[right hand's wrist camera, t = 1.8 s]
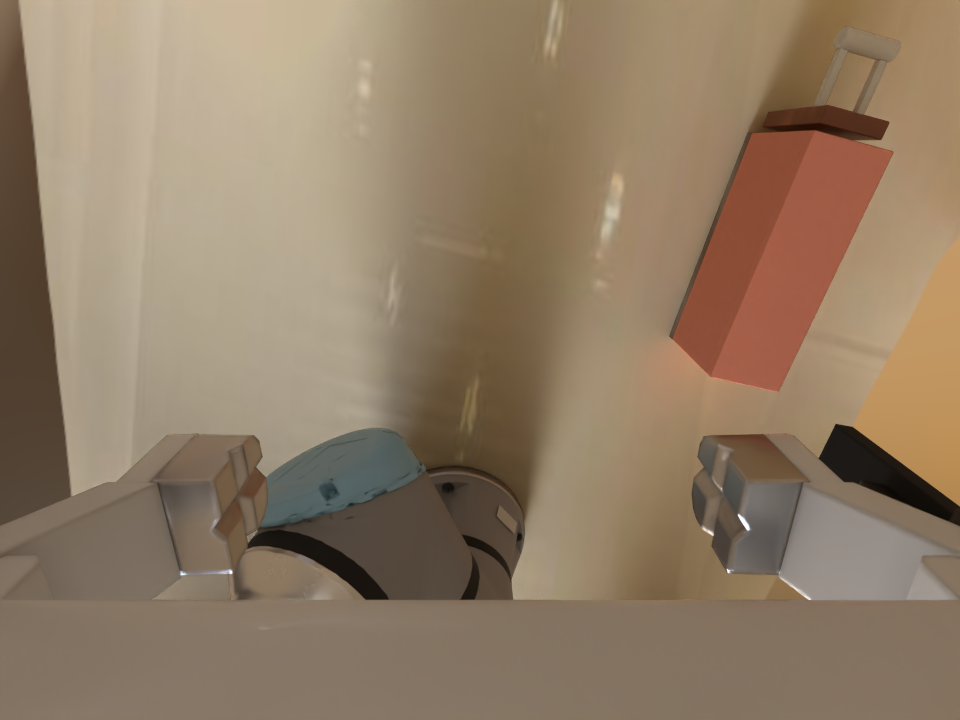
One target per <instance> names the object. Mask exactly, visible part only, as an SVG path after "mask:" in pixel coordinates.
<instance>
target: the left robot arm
mask: <svg viewBox="0 0 960 720" xmlns="http://www.w3.org/2000/svg"><path fill="white" fill-rule="evenodd" d="M819 459H820V460H821V461H822V462H823V463H824V464H825V465H826V466H827V467H828V468H829V469H830V470H831V471H832V472H834V473H835V474H836V475H837V476H838V477H839V478H840V479H841V480H842V481H843V482H854V483H856V484H858V485H861V486H863V487H866V488H868V489H871V490H873V491H875V492H878V493H880V494H883V495H885V496H888V497H890V498H892V499H895V500H897V501H900V502H902V503H905V504H907V505H909V506H912V507H914V508H917V509H919V510H922V511H924V512H926V513H929V514H931V515H934V516H936V517H939V518H941V519H943V520H946V521H948V522H951V523H953V524H956V525H958V526H960V507H959V506H958V505H957V504H956V503H954V502H953V501H952V500H950V499H949V498H947V497H946V496H945V495H943V494H942V493H941V492H939V491H938V490H937V489H935V488H934V487H933V486H931V485H930V484H929V483H927V482H926V481H925V480H923V479H922V478H921V477H919V476H918V475H917V474H915V473H914V472H913V471H911V470H910V469H908V468H907V467H906V466H904V465H903V464H902V463H900V462H899V461H898V460H896V459H895V458H894V457H892V456H891V455H890V454H888V453H887V452H885V451H884V450H883V449H882V448H880V447H879V446H878V445H876V444H875V443H873V442H872V441H871V440H869V439H868V438H867V437H865V436H864V435H863V434H861V433H860V432H859V431H857V430H856V429H855V428H853V427H850V426H844V425H839V424H836V425H835V427H834V429H833V431H832V433H831V435H830V437H829V439H828V441H827V443H826V445H825V447H824V449H823V451H822V453H821V455H820V457H819ZM266 480H267V486H268V504H267V508H266V513H265V517H264V519H263V521H262V523H261V525H260V527H259V528H258V531H257V533H256V535H255V536H254V537H253V538H252V539H251V541H250V542H249V543H248V548H247V549H246V551H245V553H244V555H243V556H242V558H241V560H240V561H239V563H238V565H237V567H236V568H235V570H234V572H233V573H232V574H228V580H229V590H230V600H513V594H512V583H511V579H512V576H513V574H514V571H515V568H516V566H517V563H518V560H519V558H520V555H521V552H522V549H523V544H524V536H525V527H524V519H523V513H522V509H521V507H520V504H519V502H518V500H517V499H516V497H515V495H514V494H513V493H512V492H511V490H510V489H509V488H508V487H507V486H506V485H505V484H503V483H502V482H501V481H499V480H498V479H496V478H495V477H493V476H491V475H489V474H487V473H485V472H482V471H479V470H476V469H472V468H467V467H456V466H453V467H441V468H436V469H432V470H428V471H426V468H425V466H424V464H423V463H421V462H419V461H418V459H417V458H416V456H415V455H414V453H413V452H412V450H411V449H410V447H409V446H408V444H407V443H406V441H405V440H404V439H403V438H402V437H401V436H400V435H399V434H398V433H396V432H394V431H392V430H389V429H384V428H369V429H363V430H358V431H354V432H350V433H347V434H344V435H341V436H339V437H336V438H333V439H331V440H328V441H326V442H324V443H322V444H319V445H317V446H315V447H313V448H311V449H309V450H307V451H305V452H303V453H302V454H300V455H298V456H296V457H295V458H293V459H291V460H290V461H288V462H287V463H285V464H284V465H282V466H281V467H279V468H278V469H276V470H275V471H274V472H272V473H271V474H270V475H268V476H267V477H266Z"/></svg>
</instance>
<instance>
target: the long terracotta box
mask: <svg viewBox="0 0 960 720" xmlns="http://www.w3.org/2000/svg"><path fill="white" fill-rule="evenodd" d="M892 154H893V151H890V150H886V149H882V148H879V147H875V146H871V145H868V144H864V143H860V142H857V141H853V140H849V139H846V138H842V137H838V136H835V135H831V134H827V133H824V132H820V131H816V130H812V131H788V132H766V133H747V136H746V138H745V141H744V144H743V146H742V149H741V151H740V154H739V157H738V159H737V162H736V164H735V167H734V170H733V172H732V175H731V177H730V180H729V183H728V185H727V188H726V190H725V193H724V196H723V198H722V201H721V203H720V206H719V209H718V211H717V214H716V216H715V219H714V222H713V224H712V227H711V229H710V232H709V235H708V237H707V240H706V242H705V245H704V248H703V250H702V253H701V255H700V258H699V261H698V263H697V266H696V268H695V271H694V274H693V276H692V279H691V281H690V284H689V287H688V289H687V292H686V294H685V297H684V300H683V302H682V305H681V307H680V310H679V313H678V315H677V318H676V320H675V323H674V326H673V328H672V331H671V333H670V336H669V337H670V338H671V339H673V340H674V341H675V342H676V343H677V344H678V345H679V346H680V347H681V348H682V349H683V350H684V351H685V352H686V353H687V354H688V355H689V356H690V357H691V358H692V359H693V360H694V361H695V362H696V363H697V364H698V365H699V366H700V367H701V368H702V369H703V370H704V371H705V372H706V373H707V374H708V375H709V376H710V377H713V378H717V379H722V380H726V381H731V382H735V383H739V384H744V385H748V386H753V387H757V388H761V389H766V390H770V391H775V392H779V390H780V388H781V386H782V383H783V381H784V379H785V377H786V375H787V373H788V371H789V369H790V367H791V365H792V363H793V361H794V359H795V356H796V354H797V352H798V350H799V348H800V346H801V344H802V342H803V340H804V338H805V336H806V334H807V331H808V329H809V327H810V325H811V323H812V321H813V319H814V317H815V315H816V313H817V311H818V309H819V306H820V304H821V302H822V300H823V298H824V296H825V294H826V292H827V290H828V288H829V286H830V284H831V281H832V279H833V277H834V275H835V273H836V271H837V269H838V267H839V265H840V263H841V261H842V259H843V257H844V254H845V252H846V250H847V248H848V246H849V244H850V242H851V240H852V238H853V236H854V234H855V232H856V229H857V227H858V225H859V223H860V221H861V219H862V217H863V215H864V213H865V211H866V209H867V207H868V204H869V202H870V200H871V198H872V196H873V194H874V192H875V190H876V188H877V186H878V184H879V182H880V179H881V177H882V175H883V173H884V171H885V169H886V167H887V165H888V163H889V161H890V159H891V157H892Z"/></svg>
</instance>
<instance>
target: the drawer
mask: <svg viewBox="0 0 960 720" xmlns="http://www.w3.org/2000/svg"><path fill="white" fill-rule="evenodd" d="M834 48H836V49H837V50H836V51H835V54H834V56H833V59H832V61H831V63H830V66H829V68H828V71H827V73H826V75H825V78H824V80H823V83H822V85H821V87H820V90H819V92H818V95H817V97H816V99H815V102H814V104H813V106H812V107H806V108H798V109H789V110H780V111H772V112H769V113H768V115H767V117H766V120H765V123H764V125H763V127H765V128H768V129H772V130H776V131H779V132H788V131H812V130H816V131H820V132H824V133H827V134H831V135H835V136H838V137H842V138H846V139H849V140H881V139H882V138H883V135H884V133H885V131H886V129H887V127H888V125H889V122H888V121H885V120H881V119H877V118H874V117H870V116H866V115H864V114H865V112H866V109H867V107H868V105H869V103H870V100H871V98H872V96H873V94H874V92H875V89H876V87H877V85H878V83H879V81H880V78H881V76H882V74H883V72H884V69H885V67H886V65H887V63H888V62H890V61H892V60H893V59H894V58H895V57H896V56H897V54H898V52H899V50H900V48H901V43H900V41H897V40H894V39H890V38H887V37H883V36H880V35H876V34H873V33H870V32H866V31H863V30H859V29H856V28H852V27H849V26H845V27H843V28H842V29H841V30H840V31H839V32H838V34H837V36H836V38H835V40H834ZM848 52H850V53H854V54H857V55H861V56H864V57H868V58H871V59H875V60H877V61H875V63H874V65H873V67H872V69H871V72H870V74H869V76H868V78H867V81H866V83H865V85H864V87H863V90H862V92H861V94H860V96H859V99H858V101H857V103H856V105H855V108H854V110H853V112H852V111H848V110H845V109H841V108H838V107H834V106H830V105H826V102H827V100H828V97H829V95H830V93H831V90H832V88H833V86H834V83H835V81H836V79H837V76H838V74H839V72H840V69H841V67H842V65H843V62H844V60H845V57H846V55H847V53H848Z"/></svg>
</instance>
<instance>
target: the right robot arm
mask: <svg viewBox="0 0 960 720" xmlns="http://www.w3.org/2000/svg"><path fill="white" fill-rule="evenodd" d="M262 457H263V456H262V452H261V447H260V442H259V440H258V439H257V438H256V437H255V436H254V435H213V434H201V435H199V434H173V435H167V436H166V437H164V438H163V439H162V440H161V441H160V442H159V443H158V444H157V445H156V446H155V447H154V448H153V449H151V450H150V451H149V452H148V453H147V454H146V455H145V456H144V457H143V458H142V459H141V460H140V461H138V462H137V463H136V464H135V465H134V466H133V467H132V468H131V469H130V470H129V471H128V472H127V473H125V474H124V475H123V476H122V477H121V478H120V479H119V480H118V481H117V482H106V483H104V484H102V485H99V486H97V487H94V488H92V489H89V490H87V491H85V492H82V493H80V494H77V495H75V496H72V497H70V498H68V499H65V500H63V501H60V502H58V503H55V504H53V505H50V506H48V507H46V508H43V509H41V510H38V511H36V512H34V513H31V514H29V515H26V516H24V517H21V518H19V519H17V520H14V521H11V522H9V523H7V524H4V525H2V526H0V720H960V526H958V525H956V524H953V523H951V522H948V521H946V520H943V519H941V518H939V517H936V516H934V515H931V514H929V513H926V512H924V511H922V510H919V509H917V508H914V507H912V506H909V505H907V504H905V503H902V502H900V501H897V500H895V499H892V498H890V497H888V496H885V495H883V494H880V493H878V492H875V491H873V490H871V489H868V488H866V487H863V486H861V485H858V484H856V483H854V482H843V481H842V480H841V479H840V478H839V477H838V476H837V475H836V474H835V473H834V472H832V471H831V470H830V469H829V468H828V467H827V466H826V465H825V464H824V463H823V462H822V461H821V460H820V459H818V458H817V457H816V456H815V455H814V454H813V453H812V452H811V451H810V450H809V449H808V448H807V447H805V446H804V445H803V444H802V443H801V442H800V441H799V440H798V439H797V438H796V437H795V436H793V435H790V434H765V435H764V434H753V435H712V436H704V437H703V439H702V441H701V443H700V446H699V451H698V456H697V457H698V458H699V460H700V462H701V463H702V465H703V466H704V468H703V469H702V470H701V471H700V472H699V473H698V474H697V475H696V476H695V477H694V480H693V488H692V502H693V510H694V513H695V516H696V519H697V521H698V523H699V525H700V527H701V528H702V529H703V530H704V531H706V532H708V533H709V534H711V535H712V536H713V541H712V548H713V549H714V551H715V553H716V555H717V556H718V558H719V560H720V561H721V563H722V565H723V567H724V568H725V570H726V572H727V573H728V574H758V575H779V578H780V579H782V580H783V581H784V582H786V583H787V584H788V585H790V586H791V587H792V588H794V589H795V590H796V591H798V592H799V593H800V594H802V595H803V596H804V597H806V598H807V599H808V600H152V599H153V598H155V597H156V596H157V595H159V594H160V593H161V592H163V591H164V590H165V589H167V588H168V587H169V586H171V585H172V584H173V583H175V582H176V581H177V580H179V579H180V578H181V575H202V574H232V573H233V572H234V570H235V568H236V567H237V565H238V563H239V561H240V560H241V558H242V556H243V555H244V553H245V551H246V549H247V548H248V541H247V536H248V535H249V534H251V533H252V532H254V531H256V530H257V529H258V528H259V527H260V525H261V523H262V521H263V519H264V517H265V513H266V508H267V504H268V486H267V480H266V477H265V476H264V475H263V474H262V473H261V472H260V471H259V470H258V469H257V468H256V466H257V465H258V463H259V462H260V460H261V458H262Z"/></svg>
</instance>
